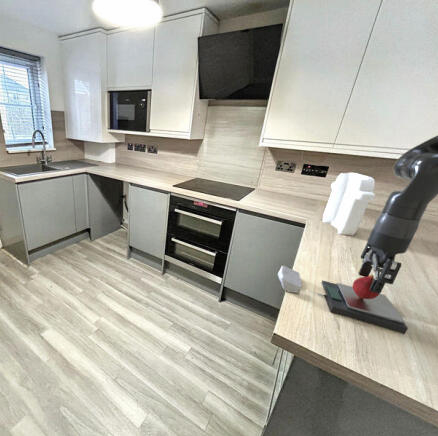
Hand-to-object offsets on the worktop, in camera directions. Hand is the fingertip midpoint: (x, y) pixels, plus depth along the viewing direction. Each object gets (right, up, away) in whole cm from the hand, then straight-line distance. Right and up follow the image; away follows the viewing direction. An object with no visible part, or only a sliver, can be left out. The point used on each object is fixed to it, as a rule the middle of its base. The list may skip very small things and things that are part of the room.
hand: (368, 283), depth 67 cm
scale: (0, -8, +3) cm, 8 cm away
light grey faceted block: (-16, -4, +12) cm, 20 cm away
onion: (0, -5, +2) cm, 6 cm away
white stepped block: (+44, +13, +64) cm, 78 cm away
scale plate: (+1, -6, +2) cm, 6 cm away
